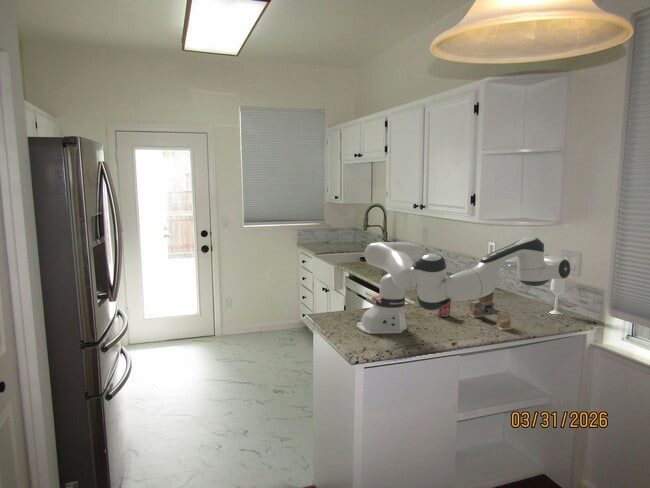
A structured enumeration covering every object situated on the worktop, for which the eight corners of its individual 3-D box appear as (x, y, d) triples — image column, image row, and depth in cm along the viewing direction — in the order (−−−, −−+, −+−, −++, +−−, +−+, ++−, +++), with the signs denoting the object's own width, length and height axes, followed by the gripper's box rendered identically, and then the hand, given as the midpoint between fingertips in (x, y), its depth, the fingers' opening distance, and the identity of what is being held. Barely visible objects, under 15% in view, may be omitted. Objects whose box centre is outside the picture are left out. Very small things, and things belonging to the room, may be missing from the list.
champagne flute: (545, 312, 232) (549, 267, 229) (554, 311, 235) (558, 266, 232) (555, 316, 226) (560, 269, 223) (565, 314, 229) (569, 269, 226)
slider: (493, 314, 215) (495, 282, 213) (482, 315, 213) (485, 283, 211) (487, 312, 219) (489, 280, 217) (477, 313, 217) (479, 281, 215)
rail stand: (513, 329, 203) (514, 313, 202) (500, 330, 201) (501, 314, 200) (478, 314, 227) (479, 300, 226) (466, 315, 224) (467, 300, 223)
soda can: (438, 312, 228) (440, 289, 226) (452, 315, 223) (453, 292, 222) (432, 315, 222) (434, 292, 221) (446, 318, 218) (447, 294, 216)
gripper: (513, 274, 178) (491, 270, 192) (555, 270, 184) (531, 266, 197) (513, 258, 178) (491, 255, 191) (554, 255, 184) (530, 252, 197)
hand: (511, 261), depth 194 cm, fingers closed
